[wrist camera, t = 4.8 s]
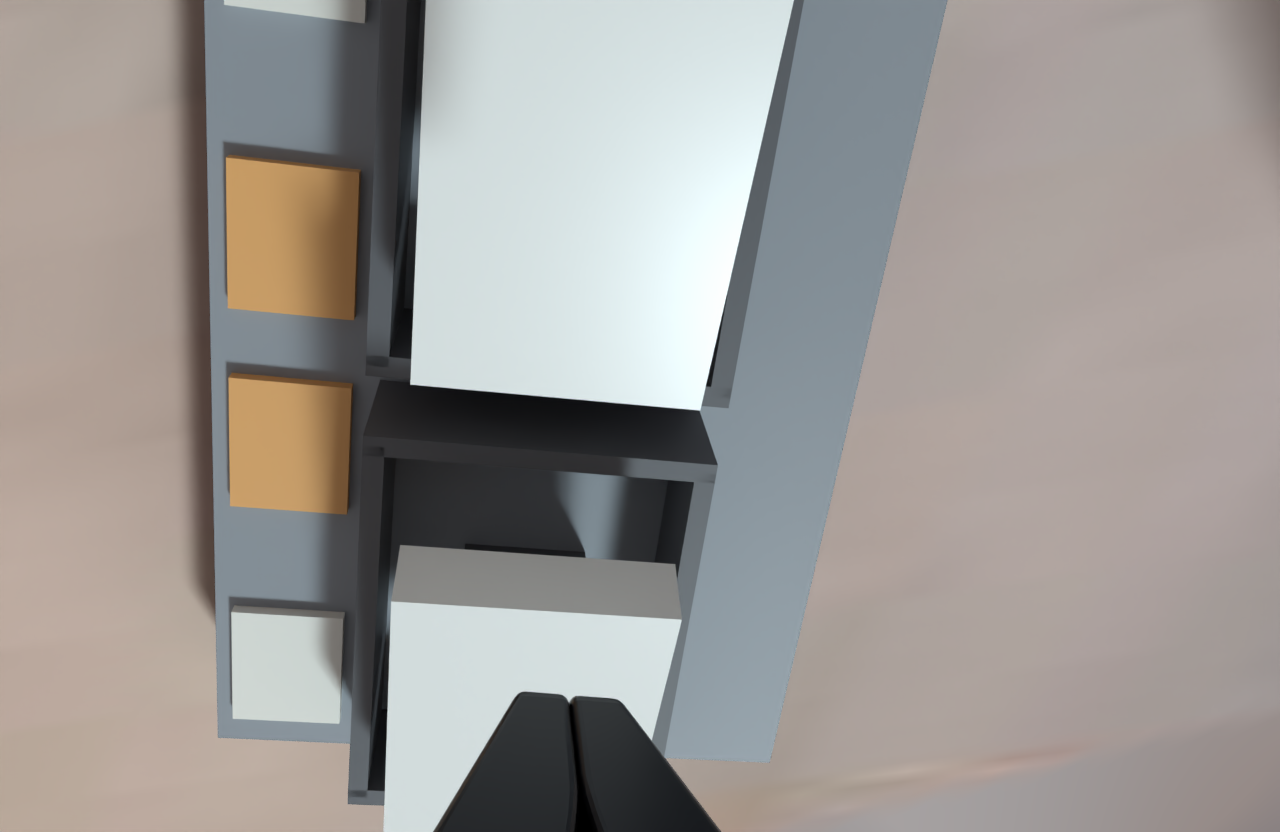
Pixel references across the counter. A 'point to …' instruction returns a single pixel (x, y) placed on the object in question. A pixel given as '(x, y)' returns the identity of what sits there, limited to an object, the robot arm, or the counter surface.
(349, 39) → the switch panel
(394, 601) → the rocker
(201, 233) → the counter surface
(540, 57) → the middle rocker
